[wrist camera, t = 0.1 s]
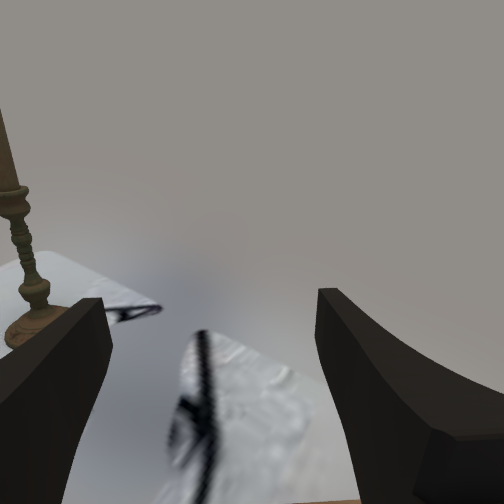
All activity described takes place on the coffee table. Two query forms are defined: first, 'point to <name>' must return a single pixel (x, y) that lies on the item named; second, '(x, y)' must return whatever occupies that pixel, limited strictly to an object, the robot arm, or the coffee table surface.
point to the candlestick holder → (23, 252)
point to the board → (335, 502)
